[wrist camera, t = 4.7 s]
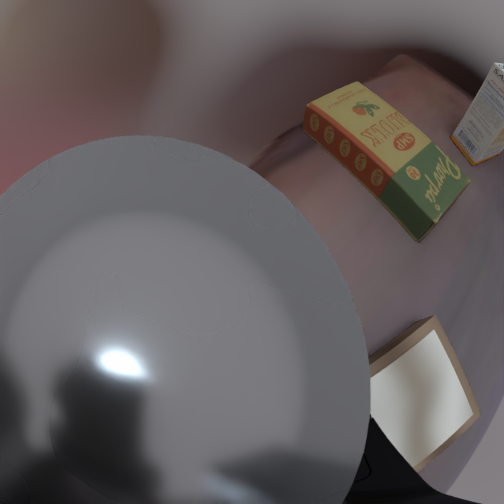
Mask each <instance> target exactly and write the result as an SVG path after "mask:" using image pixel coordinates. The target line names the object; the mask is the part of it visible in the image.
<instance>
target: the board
mask: <svg viewBox="0 0 504 504" xmlns="http://www.w3.org/2000/svg"><path fill="white" fill-rule="evenodd" d="M368 360H369V366H370V389H371V411H370V414H371V415H372V417H373V418H374V419H375V421H376V422H377V424H378V425H379V427H380V428H381V429H382V431H383V432H384V434H385V435H386V436H387V438H388V439H389V440H390V442H391V443H392V444H393V445H394V446H395V448H396V449H397V450H398V451H399V453H400V454H401V455H402V456H403V457H404V458H405V459H406V461H407V462H408V463H409V464H410V465H411V466H412V467H413V468H414V470H415V471H416V472H418V471H420V470H421V469H422V468H424V467H425V466H426V465H427V464H429V463H430V462H431V461H432V460H433V459H435V458H436V457H437V456H438V455H439V454H441V453H442V452H443V451H444V450H445V449H446V448H447V447H448V446H450V445H451V444H452V443H453V442H454V441H455V440H456V439H457V438H458V437H459V436H460V435H461V434H462V433H463V432H464V431H465V430H466V429H467V428H468V427H469V426H470V425H471V424H472V423H473V422H474V421H475V420H476V419H477V418H478V417H479V416H480V415H481V413H480V410H479V408H478V405H477V402H476V400H475V397H474V395H473V393H472V390H471V388H470V385H469V383H468V381H467V378H466V376H465V374H464V372H463V369H462V367H461V365H460V363H459V361H458V359H457V356H456V354H455V352H454V350H453V348H452V346H451V344H450V342H449V340H448V338H447V336H446V334H445V332H444V330H443V328H442V326H441V325H440V323H439V321H438V319H437V317H436V315H433V316H430V317H427V318H425V319H422V320H419V321H417V322H415V323H414V324H413V325H411V326H410V327H409V328H408V329H406V330H405V331H404V332H402V333H401V334H400V335H398V336H397V337H396V338H394V339H393V340H392V341H390V342H389V343H388V344H386V345H385V346H383V347H382V348H381V349H379V350H378V351H376V352H375V353H374V354H372V355H371V356H369V357H368ZM372 417H371V418H372Z"/></svg>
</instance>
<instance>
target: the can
mask: <svg viewBox="0 0 504 504" xmlns="http://www.w3.org/2000/svg"><path fill="white" fill-rule="evenodd" d="M370 411H371V389H370V366H369V360H368V354H367V348H366V342H365V337H364V331H363V327H362V324H361V321H360V318H359V315H358V312H357V309H356V306H355V303H354V300H353V297H352V294H351V292H350V289H349V286H348V284H347V283H346V281H345V279H344V277H343V275H342V273H341V271H340V269H339V267H338V265H337V263H336V261H335V259H334V257H333V255H332V254H331V252H330V250H329V249H328V247H327V246H326V244H325V243H324V242H323V240H322V239H321V237H320V236H319V235H318V233H317V232H316V231H315V229H314V228H313V226H312V225H311V224H310V222H309V221H308V220H307V218H306V217H305V216H304V215H303V214H302V213H301V212H300V211H299V210H298V209H297V208H296V207H295V206H294V205H293V204H292V203H291V202H290V201H289V200H288V199H287V198H286V197H285V196H284V195H283V194H282V192H280V191H279V190H278V189H276V188H275V187H274V186H273V185H271V184H270V183H269V182H268V181H266V180H265V179H264V178H262V177H261V176H260V175H258V174H257V173H256V172H255V171H253V170H251V169H249V168H248V167H246V166H244V165H243V164H241V163H239V162H237V161H235V160H234V159H232V158H230V157H228V156H226V155H224V154H222V153H219V152H217V151H214V150H212V149H209V148H207V147H204V146H201V145H199V144H195V143H191V142H187V141H182V140H178V139H174V138H168V137H158V136H146V135H139V136H118V137H112V138H107V139H102V140H96V141H92V142H89V143H86V144H83V145H80V146H76V147H74V148H71V149H68V150H66V151H64V152H62V153H60V154H58V155H55V156H53V157H51V158H49V159H48V160H46V161H44V162H43V163H41V164H40V165H38V166H36V167H35V168H33V169H32V170H30V171H29V172H28V173H26V174H25V175H24V176H22V177H21V178H20V179H19V180H17V181H16V182H15V183H14V184H13V185H12V186H11V187H9V188H8V189H7V191H5V192H4V193H3V194H2V195H1V196H0V504H342V502H343V501H344V499H345V497H346V495H347V494H348V492H349V490H350V488H351V486H352V483H353V481H354V478H355V475H356V473H357V470H358V467H359V464H360V461H361V458H362V455H363V452H364V448H365V443H366V437H367V431H368V425H369V418H370Z"/></svg>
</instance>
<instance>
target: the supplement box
mask: <svg viewBox="0 0 504 504" xmlns="http://www.w3.org/2000/svg"><path fill="white" fill-rule="evenodd" d="M451 139H452V141H453V142H454V143H455V145H456V146H457V147H458V148H459V150H460V151H461V152H462V153H463V155H464V156H465V158H466V159H467V160H468V161H469V163H470V164H471V165H472V166H473V165H476V164H478V163H480V162H483V161H485V160H488V159H490V158H492V157H494V156H497V155H499V154H500V153H501V151H502V150H503V149H504V64H501V63H500V64H499V63H494V64H493V66H492V68H491V70H490V72H489V74H488V75H487V77H486V79H485V81H484V83H483V85H482V86H481V88H480V90H479V92H478V93H477V95H476V97H475V98H474V100H473V102H472V103H471V105H470V107H469V109H468V110H467V112H466V113H465V115H464V117H463V118H462V120H461V122H460V123H459V125H458V126H457V128H456V129H455V131H454V133H453V134H452V136H451Z"/></svg>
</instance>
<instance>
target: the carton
mask: <svg viewBox="0 0 504 504" xmlns="http://www.w3.org/2000/svg"><path fill="white" fill-rule="evenodd" d="M303 130H304V132H305V133H306V134H308V135H309V136H310V137H311V138H312V139H313V140H315V141H316V142H317V143H318V144H319V145H320V146H322V147H323V148H324V149H325V150H326V151H327V152H328V153H329V154H330V155H332V156H333V157H334V158H335V159H336V160H337V161H338V162H339V163H340V164H341V165H343V166H344V167H345V168H346V169H347V170H348V171H349V172H350V173H351V174H352V175H353V176H354V177H355V178H356V179H357V180H358V181H359V182H360V183H361V184H362V185H363V186H364V187H365V188H366V189H367V190H368V191H369V192H370V193H371V194H372V195H373V196H374V197H375V198H376V199H377V200H378V201H379V202H380V203H381V204H382V205H383V206H384V207H385V208H386V209H387V210H388V211H389V212H390V213H391V215H392V216H393V217H394V218H395V219H396V220H397V221H398V222H399V223H400V224H401V226H402V227H403V228H404V229H405V230H406V231H407V232H408V234H409V235H410V236H411V237H412V239H413V240H414V241H417V242H420V241H421V240H423V239H424V238H425V237H426V236H427V234H428V233H429V232H430V231H431V230H432V228H433V227H434V226H435V225H436V224H437V223H438V221H439V220H440V219H441V218H442V217H443V215H444V214H445V213H446V212H447V211H448V209H449V208H450V207H451V206H452V205H453V203H454V202H455V201H456V200H457V198H458V197H459V196H460V195H461V193H462V192H463V191H464V189H465V188H466V187H467V186H468V184H469V183H470V179H469V178H468V177H467V176H466V175H465V174H464V173H463V171H462V170H461V169H460V168H459V167H458V166H457V165H456V164H455V163H454V162H453V161H452V160H451V159H450V158H449V157H448V156H447V155H446V154H445V153H444V152H443V151H442V150H441V149H440V148H439V147H438V146H437V145H435V144H434V143H433V142H432V141H431V140H430V139H429V138H428V137H427V136H426V135H424V134H423V133H422V132H421V131H420V130H419V129H418V128H417V127H416V126H414V125H413V124H412V123H411V122H410V121H408V120H407V119H406V118H405V117H404V116H403V115H401V114H400V113H399V112H398V111H396V110H395V109H394V108H393V107H391V106H390V105H389V104H387V103H386V102H385V101H384V100H382V99H381V98H380V97H378V96H377V95H376V94H374V93H373V92H372V91H370V90H369V89H367V88H366V87H365V86H363V85H362V84H360V83H359V82H354V83H352V84H349V85H347V86H345V87H342V88H340V89H338V90H335V91H333V92H331V93H329V94H327V95H325V96H323V97H321V98H319V99H317V100H315V101H313V102H311V103H309V104H307V105H306V108H305V113H304V120H303Z"/></svg>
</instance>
